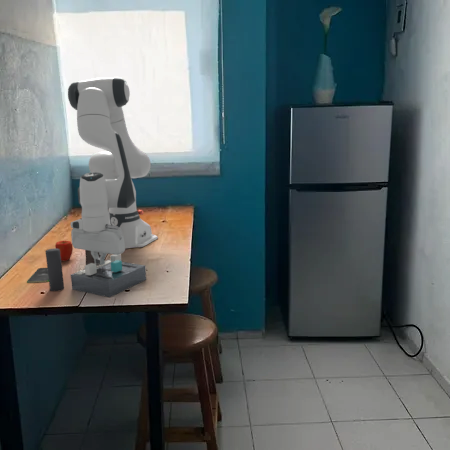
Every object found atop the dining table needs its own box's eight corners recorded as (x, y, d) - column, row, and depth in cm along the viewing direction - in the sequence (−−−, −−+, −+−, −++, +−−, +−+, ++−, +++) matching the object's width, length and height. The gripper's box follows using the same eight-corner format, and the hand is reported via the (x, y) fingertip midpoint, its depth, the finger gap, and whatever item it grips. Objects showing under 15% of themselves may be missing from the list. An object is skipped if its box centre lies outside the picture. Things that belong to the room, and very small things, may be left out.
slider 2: (116, 261, 183) (116, 253, 182) (121, 262, 182) (120, 254, 181) (111, 264, 180) (110, 255, 180) (115, 264, 179) (114, 256, 179)
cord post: (57, 285, 177) (52, 247, 173) (67, 287, 174) (62, 249, 171) (47, 289, 173) (42, 251, 170) (56, 291, 171) (52, 252, 168)
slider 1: (92, 271, 173) (91, 263, 172) (96, 272, 172) (96, 263, 171) (85, 274, 170) (84, 265, 169) (90, 275, 169) (89, 266, 168)
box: (98, 275, 186) (95, 242, 183) (86, 274, 187) (83, 241, 184) (106, 270, 191) (103, 237, 188) (94, 269, 192) (92, 237, 190)
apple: (77, 258, 206) (75, 239, 204) (65, 263, 201) (63, 243, 199) (65, 256, 209) (63, 238, 208) (53, 260, 204) (51, 242, 202)
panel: (110, 273, 188) (108, 259, 186) (146, 279, 180) (145, 264, 179) (72, 289, 173) (70, 274, 171) (109, 297, 165) (108, 281, 164)
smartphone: (25, 281, 180) (38, 267, 194) (26, 284, 180) (38, 270, 195) (48, 280, 180) (59, 266, 195) (48, 283, 180) (59, 269, 195)
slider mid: (117, 268, 175) (116, 260, 174) (122, 269, 174) (121, 260, 173) (111, 271, 173) (110, 262, 172) (116, 272, 172) (115, 263, 171)
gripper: (127, 224, 171) (130, 265, 174) (80, 218, 181) (84, 257, 184) (114, 228, 166) (117, 270, 169) (66, 222, 176) (70, 262, 179)
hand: (99, 263), depth 177 cm, fingers closed
